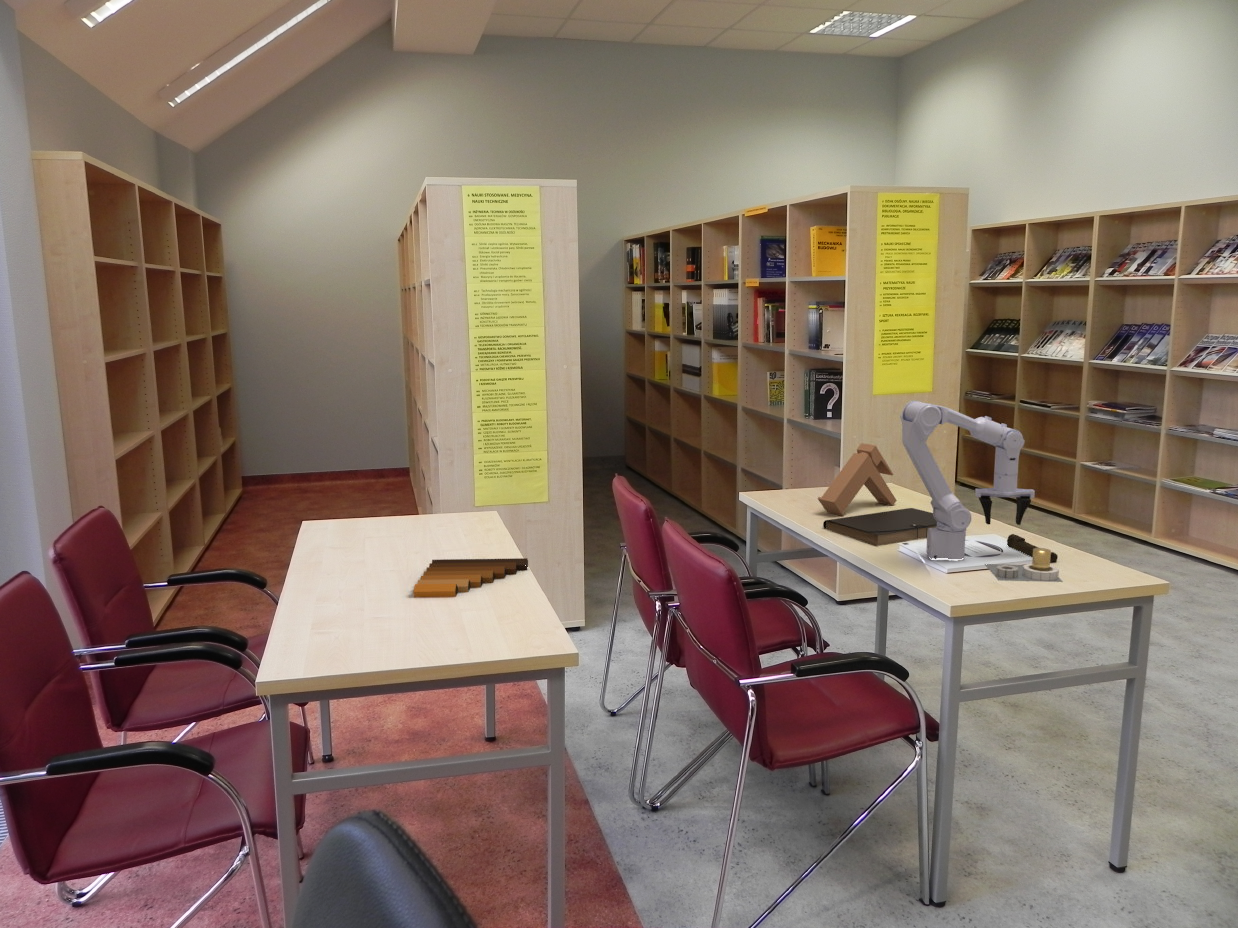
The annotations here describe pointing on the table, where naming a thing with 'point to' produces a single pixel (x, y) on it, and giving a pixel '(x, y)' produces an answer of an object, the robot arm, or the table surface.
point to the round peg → (1041, 559)
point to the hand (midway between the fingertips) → (1002, 523)
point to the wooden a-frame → (858, 481)
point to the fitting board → (1023, 573)
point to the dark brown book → (884, 526)
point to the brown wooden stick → (1025, 546)
